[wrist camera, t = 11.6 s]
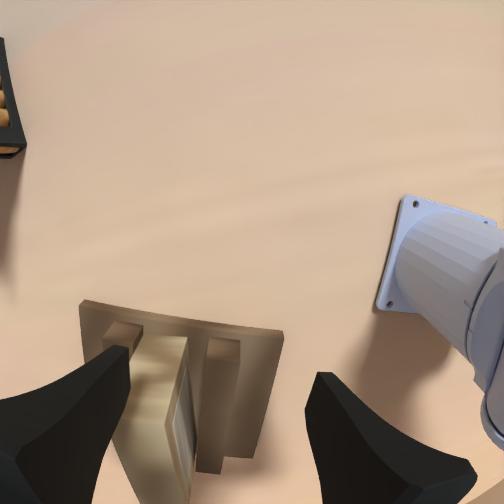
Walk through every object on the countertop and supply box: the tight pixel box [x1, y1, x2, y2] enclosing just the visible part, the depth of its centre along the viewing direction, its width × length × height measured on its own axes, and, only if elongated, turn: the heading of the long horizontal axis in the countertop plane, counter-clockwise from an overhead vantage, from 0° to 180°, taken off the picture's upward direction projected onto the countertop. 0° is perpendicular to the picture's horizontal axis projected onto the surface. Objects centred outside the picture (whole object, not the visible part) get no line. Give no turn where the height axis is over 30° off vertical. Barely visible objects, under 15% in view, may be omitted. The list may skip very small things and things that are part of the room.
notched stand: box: [79, 300, 284, 474], centre depth 21 cm, size 14×13×4 cm
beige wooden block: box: [111, 334, 197, 504], centre depth 17 cm, size 3×10×8 cm, turn 178°
